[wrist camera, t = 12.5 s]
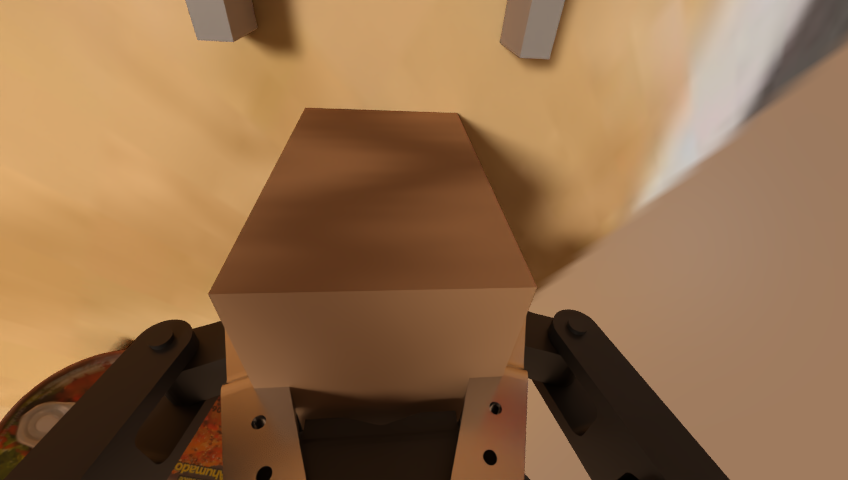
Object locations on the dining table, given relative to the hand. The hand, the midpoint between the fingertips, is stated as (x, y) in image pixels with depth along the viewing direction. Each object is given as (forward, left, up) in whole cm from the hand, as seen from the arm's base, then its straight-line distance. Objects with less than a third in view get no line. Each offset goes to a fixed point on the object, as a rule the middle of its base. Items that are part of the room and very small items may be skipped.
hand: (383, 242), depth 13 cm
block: (0, +1, -1) cm, 2 cm away
